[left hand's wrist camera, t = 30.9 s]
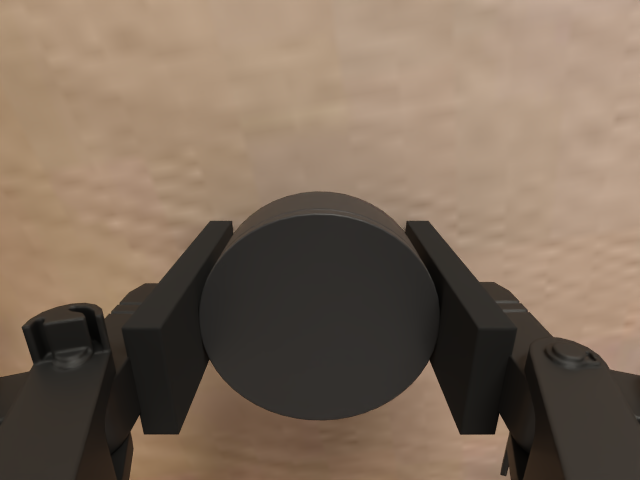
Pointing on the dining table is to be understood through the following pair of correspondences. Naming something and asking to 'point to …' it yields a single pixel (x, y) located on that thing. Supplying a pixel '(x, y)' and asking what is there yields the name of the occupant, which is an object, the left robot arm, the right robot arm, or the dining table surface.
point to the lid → (319, 308)
